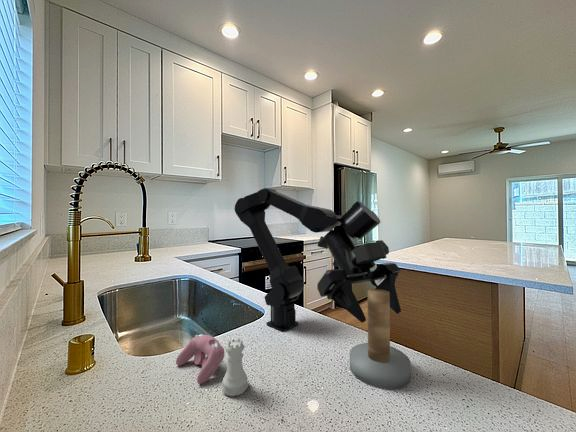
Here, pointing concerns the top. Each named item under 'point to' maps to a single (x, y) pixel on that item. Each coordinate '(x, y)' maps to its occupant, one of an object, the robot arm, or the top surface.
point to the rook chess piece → (234, 370)
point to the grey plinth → (380, 368)
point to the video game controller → (203, 355)
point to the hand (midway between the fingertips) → (382, 316)
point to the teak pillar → (379, 325)
